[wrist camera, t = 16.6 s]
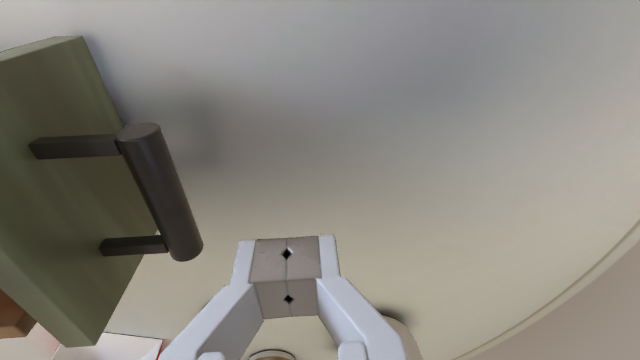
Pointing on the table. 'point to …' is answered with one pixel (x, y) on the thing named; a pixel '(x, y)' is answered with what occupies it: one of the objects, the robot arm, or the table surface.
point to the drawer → (77, 195)
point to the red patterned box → (113, 349)
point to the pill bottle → (272, 356)
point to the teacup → (406, 339)
